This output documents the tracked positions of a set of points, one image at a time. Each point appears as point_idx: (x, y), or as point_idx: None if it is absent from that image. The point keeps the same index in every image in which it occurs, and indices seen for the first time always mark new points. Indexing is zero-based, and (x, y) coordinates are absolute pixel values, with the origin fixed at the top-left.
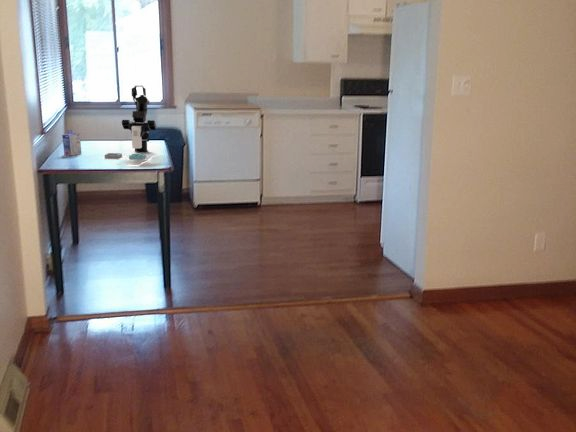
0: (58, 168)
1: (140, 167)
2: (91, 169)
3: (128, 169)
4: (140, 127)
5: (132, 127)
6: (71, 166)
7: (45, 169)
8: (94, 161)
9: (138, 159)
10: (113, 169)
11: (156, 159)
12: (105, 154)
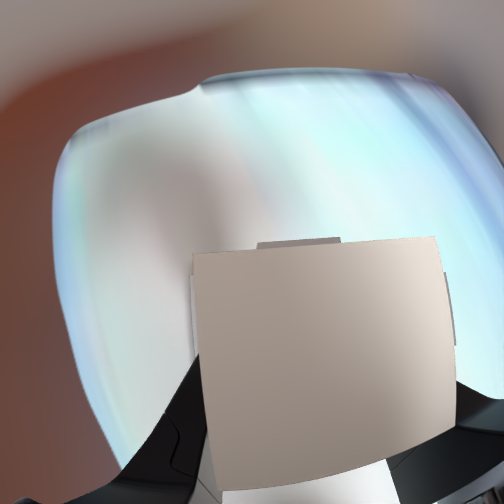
0: (424, 92)
1: (163, 125)
2: (333, 74)
3: (202, 85)
4: (209, 406)
5: (406, 242)
6: (424, 117)
7: (434, 85)
8: (440, 228)
9: None
10: (260, 77)
11: (145, 396)
12: (447, 285)
